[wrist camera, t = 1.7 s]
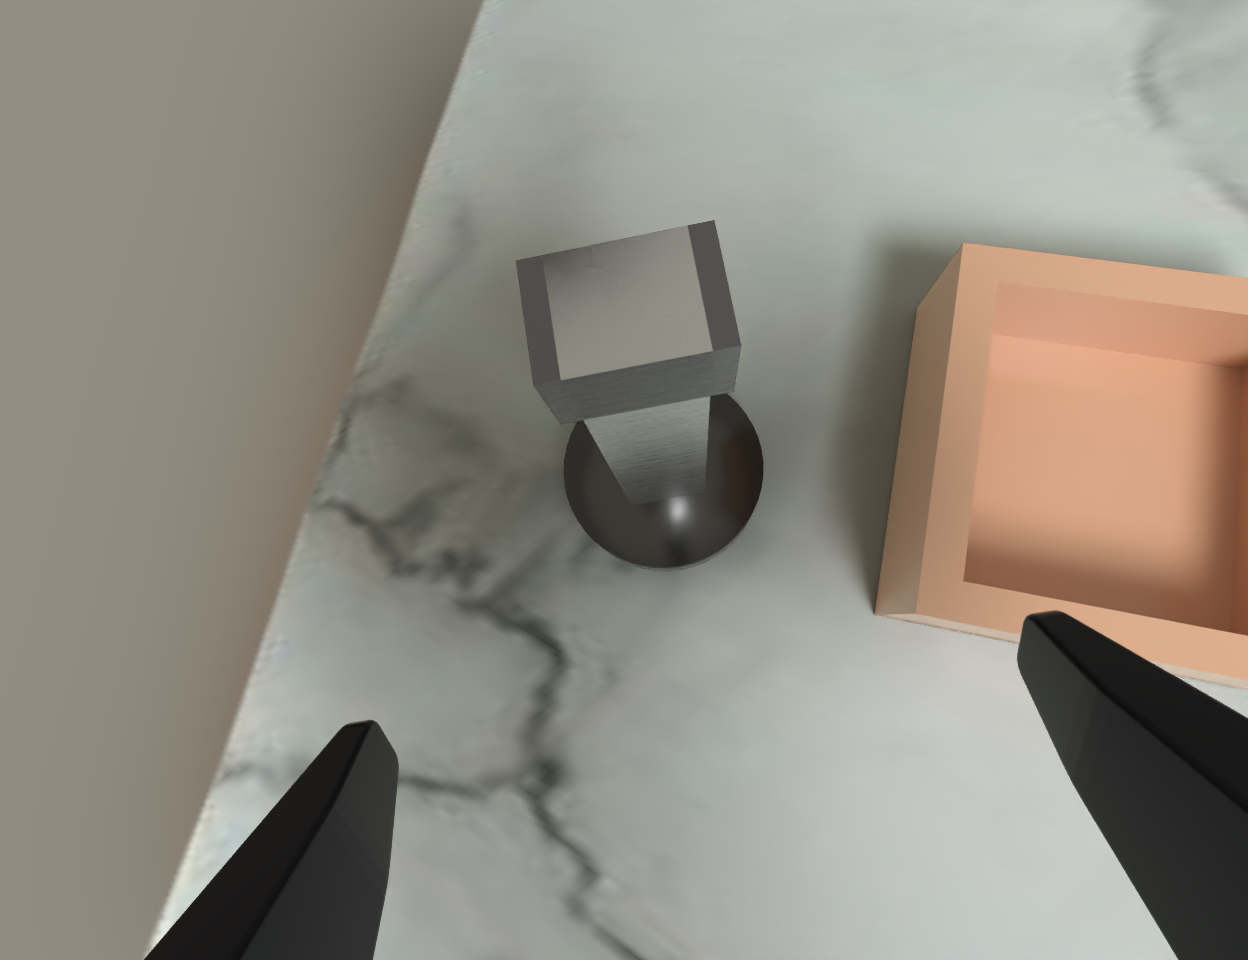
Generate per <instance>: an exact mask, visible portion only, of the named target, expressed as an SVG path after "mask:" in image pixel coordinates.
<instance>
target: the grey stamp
mask: <svg viewBox="0 0 1248 960" xmlns="http://www.w3.org/2000/svg"><path fill="white" fill-rule="evenodd" d="M516 264H517V271H518V278H519V285H520V292H521V300H522V307H523V314H524V321H525V328H526V335H527V342H528V349H529V356H530V363H531V370H532V377H533V385H534V387H535V388H536V390H537V391H538V393H539V394H540V395H541V397H542V398H543V400H544V401H545V403H546V404H547V406H548V407H549V408H550V410H551V411H552V413H553V414H554V416H555V417H556V419H557V420H558V421H559V423H560V424H565V423H570V422H575V421H578V422H577V423H576V425H575V427H574V429H573V431H572V434H571V436H570V439H569V442H568V445H567V449H566V454H565V459H564V481H565V488H566V493H567V497H568V500H569V503H570V505H571V508H572V510H573V512H574V514H575V516H576V518H577V520H578V521H579V523H580V524H581V526H582V527H583V529H584V530H585V531H586V532H587V533H588V534H589V536H590V537H591V538H592V539H593V540H594V541H595V542H597V543H598V544H599V545H600V546H601V547H603V548H604V549H605V550H606V551H608V552H609V553H610V554H612V555H614V556H615V557H617V558H618V559H620V560H622V561H624V562H626V563H629V564H631V565H634V566H637V567H640V568H644V569H650V570H658V571H671V570H681V569H685V568H689V567H693V566H696V565H698V564H701V563H704V562H706V561H708V560H710V559H711V558H713V557H715V556H717V555H718V554H719V553H721V552H722V551H723V550H725V549H726V548H727V547H728V546H729V545H730V544H731V543H732V542H733V541H734V540H735V539H736V538H737V537H738V536H739V534H740V533H741V532H742V531H743V529H744V527H745V526H746V524H747V522H748V521H749V519H750V517H751V515H752V513H753V511H754V508H755V506H756V504H757V501H758V499H759V495H760V491H761V488H762V480H763V457H762V450H761V446H760V443H759V439H758V436H757V434H756V431H755V429H754V427H753V425H752V423H751V421H750V420H749V418H748V416H747V415H746V413H745V412H744V411H743V410H742V408H741V407H740V406H739V405H738V404H737V403H736V402H735V401H734V400H733V399H732V398H731V397H730V396H729V395H728V394H726V393H730V392H734V387H735V380H736V374H737V368H738V362H739V356H740V349H741V343H740V338H739V333H738V329H737V324H736V319H735V315H734V310H733V305H732V301H731V296H730V291H729V286H728V282H727V277H726V272H725V268H724V263H723V258H722V254H721V249H720V244H719V239H718V235H717V230H716V225H715V221H714V220H712V221H708V222H703V223H698V224H693V225H688V226H683V227H678V228H673V229H669V230H664V231H659V232H654V233H649V234H644V235H639V236H634V237H630V238H625V239H620V240H615V241H610V242H605V243H600V244H595V245H591V246H586V247H581V248H576V249H571V250H566V251H561V252H556V253H552V254H547V255H542V256H537V257H532V258H527V259H522V260H517V261H516Z"/></svg>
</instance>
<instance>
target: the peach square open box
mask: <svg viewBox="0 0 1248 960" xmlns="http://www.w3.org/2000/svg"><path fill="white" fill-rule="evenodd" d="M1052 610H1058V611H1061V612H1064V613H1066V614H1068V615H1070V616H1072V617H1073V618H1075V619H1077V620H1079V621H1080V622H1082V623H1084V624H1086V625H1087V626H1089V627H1091V628H1093V629H1094V630H1096V631H1098V632H1099V633H1101V634H1103V635H1105V636H1106V637H1108V638H1110V639H1112V640H1113V641H1115V642H1117V643H1119V644H1120V645H1122V646H1124V647H1125V648H1127V649H1129V650H1131V651H1132V652H1134V653H1136V654H1138V655H1139V656H1141V657H1143V658H1145V659H1146V660H1148V661H1150V662H1151V663H1153V664H1155V665H1157V666H1158V667H1160V668H1162V669H1164V670H1165V671H1167V672H1169V673H1171V674H1172V675H1174V676H1179V677H1184V678H1189V679H1194V680H1199V681H1204V682H1209V683H1214V684H1219V685H1224V686H1229V687H1234V688H1239V689H1245V690H1248V278H1241V277H1233V276H1225V275H1217V274H1209V273H1202V272H1194V271H1186V270H1178V269H1170V268H1162V267H1154V266H1146V265H1138V264H1130V263H1122V262H1114V261H1106V260H1098V259H1090V258H1082V257H1074V256H1066V255H1059V254H1051V253H1043V252H1035V251H1027V250H1019V249H1011V248H1003V247H995V246H987V245H979V244H971V243H963V244H962V245H961V247H960V248H959V249H958V251H957V252H956V254H955V255H954V257H953V258H952V259H951V261H950V262H949V264H948V265H947V266H946V268H945V269H944V271H943V272H942V274H941V275H940V276H939V278H938V279H937V281H936V282H935V283H934V285H933V286H932V288H931V289H930V291H929V292H928V293H927V295H926V296H925V298H924V299H923V300H922V302H921V303H920V305H919V306H918V308H917V312H916V319H915V326H914V333H913V341H912V348H911V355H910V362H909V369H908V377H907V384H906V391H905V398H904V405H903V412H902V420H901V427H900V434H899V441H898V448H897V456H896V463H895V470H894V477H893V484H892V492H891V499H890V506H889V513H888V520H887V527H886V535H885V542H884V549H883V556H882V563H881V571H880V578H879V585H878V592H877V599H876V606H875V614H874V615H877V616H882V617H887V618H892V619H897V620H902V621H907V622H912V623H917V624H921V625H926V626H931V627H936V628H941V629H946V630H951V631H956V632H961V633H966V634H971V635H976V636H981V637H986V638H991V639H996V640H1001V641H1006V642H1011V643H1016V644H1019V643H1020V637H1021V632H1022V626H1023V622H1024V619H1025V618H1026V617H1027V616H1028V615H1029V614H1033V613H1039V612H1045V611H1052Z"/></svg>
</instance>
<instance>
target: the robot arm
mask: <svg viewBox="0 0 1248 960" xmlns="http://www.w3.org/2000/svg"><path fill="white" fill-rule="evenodd" d="M1017 662H1018V667H1019V670H1020V673H1021V675H1022V678H1023V680H1024V682H1025V684H1026V686H1027V688H1028V691H1029V693H1030V695H1031V697H1032V699H1033V701H1034V703H1035V705H1036V708H1037V710H1038V712H1039V714H1040V716H1041V718H1042V720H1043V723H1044V725H1045V727H1046V729H1047V731H1048V733H1049V735H1050V738H1051V740H1052V742H1053V744H1054V746H1055V748H1056V750H1057V753H1058V755H1059V757H1060V759H1061V761H1062V763H1063V765H1064V767H1065V769H1066V771H1067V773H1068V775H1069V777H1070V779H1071V781H1072V783H1073V785H1074V787H1075V788H1076V790H1077V792H1078V794H1079V795H1080V797H1081V799H1082V801H1083V802H1084V804H1085V806H1086V807H1087V809H1088V811H1089V812H1090V814H1091V816H1092V817H1093V819H1094V821H1095V822H1096V824H1097V826H1098V827H1099V829H1100V830H1101V832H1102V834H1103V835H1104V837H1105V839H1106V840H1107V842H1108V844H1109V845H1110V847H1111V849H1112V850H1113V852H1114V854H1115V855H1116V857H1117V859H1118V860H1119V862H1120V864H1121V865H1122V867H1123V869H1124V870H1125V872H1126V874H1127V875H1128V877H1129V879H1130V880H1131V882H1132V884H1133V885H1134V887H1135V889H1136V890H1137V892H1138V894H1139V895H1140V897H1141V899H1142V900H1143V902H1144V904H1145V905H1146V907H1147V909H1148V910H1149V912H1150V914H1151V915H1152V917H1153V918H1154V920H1155V922H1156V923H1157V925H1158V927H1159V928H1160V930H1161V932H1162V933H1163V935H1164V937H1165V938H1166V940H1167V942H1168V943H1169V945H1170V947H1171V948H1172V950H1173V952H1174V953H1175V955H1176V957H1177V958H1178V960H1248V718H1247V717H1245V716H1243V715H1242V714H1240V713H1238V712H1236V711H1235V710H1233V709H1231V708H1229V707H1228V706H1226V705H1224V704H1223V703H1221V702H1219V701H1217V700H1216V699H1214V698H1212V697H1210V696H1209V695H1207V694H1205V693H1203V692H1202V691H1200V690H1198V689H1197V688H1195V687H1193V686H1191V685H1190V684H1188V683H1186V682H1184V681H1183V680H1181V679H1179V678H1177V677H1176V676H1174V675H1172V674H1171V673H1169V672H1167V671H1165V670H1164V669H1162V668H1160V667H1158V666H1157V665H1155V664H1153V663H1151V662H1150V661H1148V660H1146V659H1145V658H1143V657H1141V656H1139V655H1138V654H1136V653H1134V652H1132V651H1131V650H1129V649H1127V648H1125V647H1124V646H1122V645H1120V644H1119V643H1117V642H1115V641H1113V640H1112V639H1110V638H1108V637H1106V636H1105V635H1103V634H1101V633H1099V632H1098V631H1096V630H1094V629H1093V628H1091V627H1089V626H1087V625H1086V624H1084V623H1082V622H1080V621H1079V620H1077V619H1075V618H1073V617H1072V616H1070V615H1068V614H1066V613H1064V612H1061V611H1058V610H1052V611H1045V612H1039V613H1033V614H1029V615H1028V616H1027V617H1026V618H1025V619H1024V622H1023V626H1022V632H1021V637H1020V643H1019V648H1018V653H1017ZM398 771H399V765H398V758H397V755H396V753H395V751H394V749H393V747H392V746H391V744H390V742H389V741H388V739H387V737H386V736H385V734H384V732H383V731H382V729H381V727H380V726H379V724H378V723H377V722H375V721H373V720H366V721H360V722H354V723H349V724H347V725H345V726H343V727H342V728H341V729H340V730H339V731H338V732H337V734H336V735H335V736H334V737H333V738H332V739H331V741H330V742H329V743H328V744H327V745H326V747H325V748H324V749H323V750H322V751H321V752H320V754H319V755H318V756H317V757H316V758H315V759H314V761H313V762H312V763H311V764H310V765H309V766H308V768H307V769H306V770H305V771H304V772H303V774H302V775H301V776H300V777H299V778H298V779H297V781H296V782H295V783H294V784H293V785H292V786H291V788H290V789H289V790H288V791H287V792H286V793H285V795H284V796H283V797H282V798H281V799H280V801H279V802H278V803H277V804H276V805H275V806H274V808H273V809H272V810H271V811H270V812H269V813H268V815H267V816H266V817H265V818H264V819H263V820H262V822H261V823H260V824H259V825H258V826H257V827H256V829H255V830H254V831H253V832H252V833H251V835H250V836H249V837H248V838H247V839H246V840H245V842H244V843H243V844H242V845H241V846H240V847H239V849H238V850H237V851H236V852H235V853H234V854H233V856H232V857H231V858H230V859H229V860H228V862H227V863H226V864H225V865H224V866H223V867H222V869H221V870H220V871H219V872H218V873H217V874H216V876H215V877H214V878H213V879H212V880H211V881H210V883H209V884H208V885H207V886H206V887H205V889H204V890H203V891H202V892H201V893H200V894H199V896H198V897H197V898H196V899H195V900H194V901H193V903H192V904H191V905H190V906H189V907H188V908H187V910H186V911H185V912H184V913H183V914H182V916H181V917H180V918H179V919H178V920H177V921H176V923H175V924H174V925H173V926H172V927H171V928H170V930H169V931H168V932H167V933H166V934H165V935H164V937H163V938H162V939H161V940H160V941H159V943H158V944H157V945H156V946H155V947H154V948H153V950H152V951H151V952H150V953H149V954H148V955H147V957H146V958H145V959H144V960H373V956H374V951H375V946H376V941H377V936H378V931H379V926H380V921H381V915H382V910H383V905H384V900H385V895H386V889H387V883H388V876H389V868H390V859H391V848H392V837H393V826H394V815H395V804H396V794H397V783H398Z"/></svg>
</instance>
